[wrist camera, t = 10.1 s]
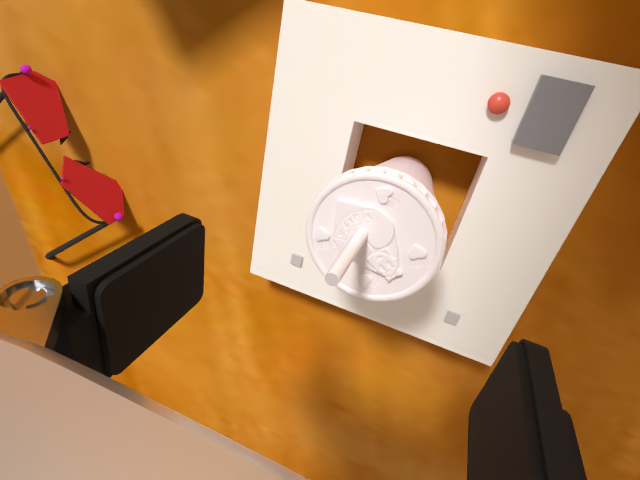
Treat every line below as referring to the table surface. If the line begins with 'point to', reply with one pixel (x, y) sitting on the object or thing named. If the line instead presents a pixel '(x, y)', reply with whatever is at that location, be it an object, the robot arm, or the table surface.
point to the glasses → (49, 125)
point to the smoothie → (378, 230)
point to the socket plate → (449, 130)
